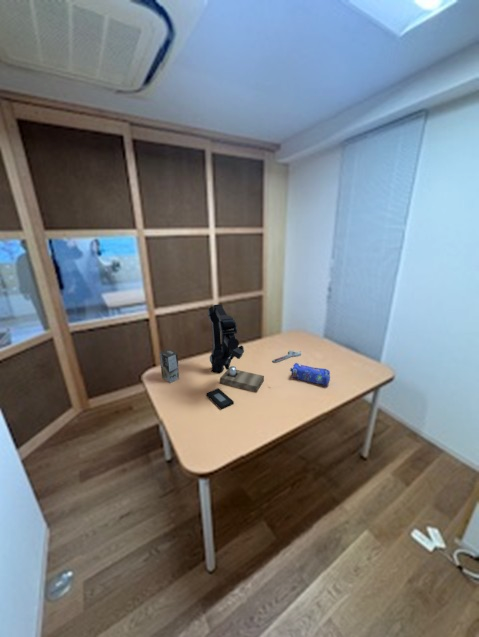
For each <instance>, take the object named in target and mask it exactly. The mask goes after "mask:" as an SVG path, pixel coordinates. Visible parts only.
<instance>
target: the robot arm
mask: <svg viewBox="0 0 479 637" xmlns="http://www.w3.org/2000/svg"><path fill="white" fill-rule="evenodd" d="M207 316H208V319H209V321H210V322H211V326H212V327H211V329H212V342H213V343H212V344H213V348H212V349H211V351H210V352H211V354H210V356H209V362H210V363H211V370H210V372H211V373H215V374H221V373H222V372H223V371H227V370H228V369H229V368H230V367H231V362H232V360H233V359H234V358H236V359H237V360H239V359H241V358H242V357H243V355H244V352H245V349H244V346H243V345H239V344H240V342H239V340H238V339H237V337H236V335H235V334H238V327H237V326H238V325H237V323H236V321H235V319H234V318H233V317H232V316H230V315H228V314H227V312H226V310H225V309H224V307H223V304H220V303H218V304H213V305H212V306H211V307H208V309H207Z"/></svg>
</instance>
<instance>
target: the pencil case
mask: <svg viewBox="0 0 479 637" xmlns="http://www.w3.org/2000/svg"><path fill="white" fill-rule="evenodd" d="M289 371H290V372H291V377H292V378H294V379H297V380H301V381H303V382H304V381H305V382H308V383H314V384H317V385H318V384H319V385H323V386H329V384H330V381H331V376H330V375H331V372H330V370H329V369H327V368H320V367H312V366H308V365H303V364H300V363H299V362H295V363H294V364H293V365H292V367H291V368H290V369H289Z"/></svg>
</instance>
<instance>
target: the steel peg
mask: <svg viewBox="0 0 479 637" xmlns="http://www.w3.org/2000/svg"><path fill="white" fill-rule="evenodd" d="M229 368H230V377H234V378H235V377H236V370H237V368H236V366H233V365H232V366H231V365H230V366H229Z"/></svg>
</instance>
